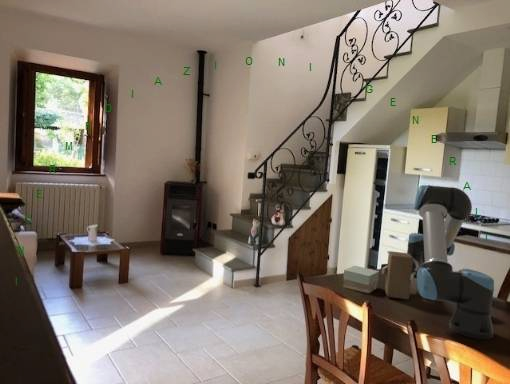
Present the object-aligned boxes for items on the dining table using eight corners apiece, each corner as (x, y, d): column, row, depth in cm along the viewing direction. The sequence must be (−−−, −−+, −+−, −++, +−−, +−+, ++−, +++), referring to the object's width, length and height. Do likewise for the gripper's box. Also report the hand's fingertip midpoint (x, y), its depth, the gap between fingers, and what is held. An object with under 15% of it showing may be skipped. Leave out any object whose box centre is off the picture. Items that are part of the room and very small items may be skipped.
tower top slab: (368, 285, 197) (369, 276, 197) (343, 278, 205) (344, 269, 205) (378, 280, 208) (379, 271, 207) (353, 274, 215) (354, 265, 215)
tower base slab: (368, 294, 198) (369, 285, 197) (342, 287, 205) (343, 279, 205) (377, 288, 208) (378, 279, 208) (352, 282, 216) (353, 274, 215)
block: (409, 300, 190) (414, 257, 188) (386, 297, 192) (391, 255, 190) (405, 293, 200) (410, 253, 198) (384, 290, 202) (388, 250, 200)
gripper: (433, 279, 203) (423, 288, 185) (383, 268, 217) (370, 276, 199) (435, 264, 203) (425, 272, 185) (385, 254, 216) (371, 260, 199)
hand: (396, 274), depth 192 cm, fingers closed on block, 12 cm apart
